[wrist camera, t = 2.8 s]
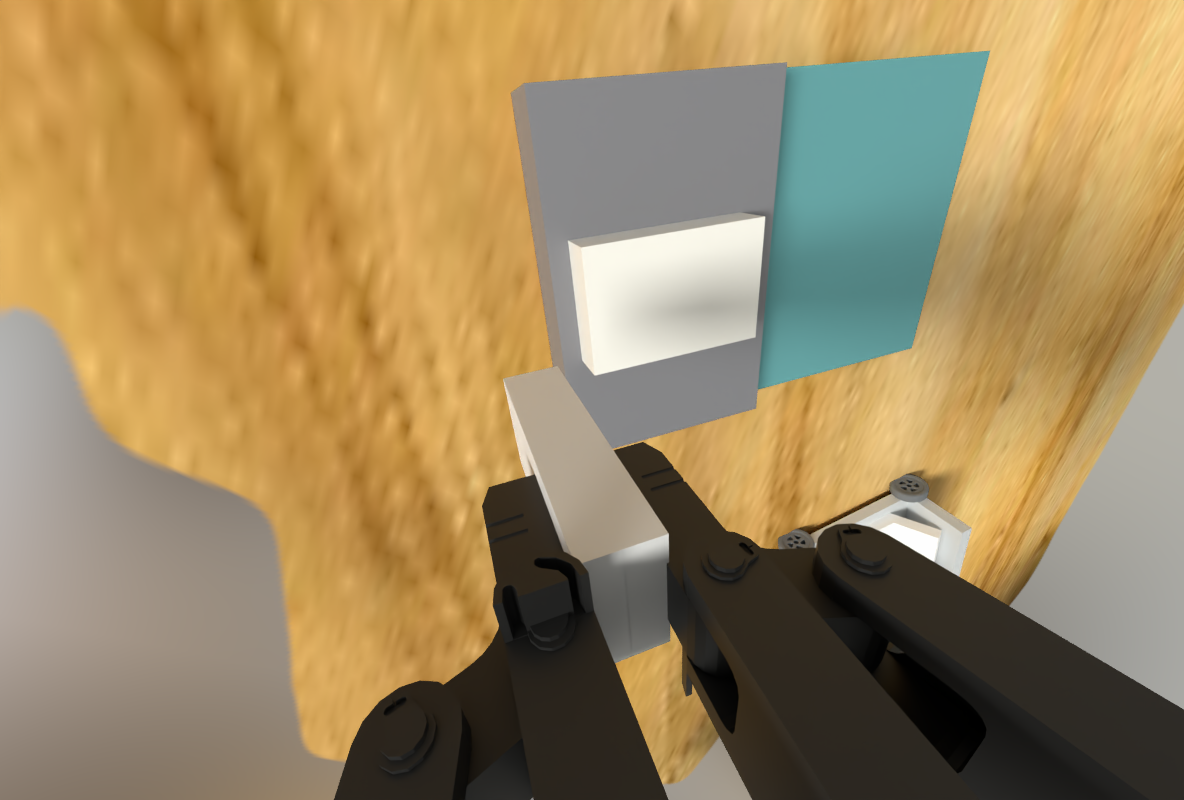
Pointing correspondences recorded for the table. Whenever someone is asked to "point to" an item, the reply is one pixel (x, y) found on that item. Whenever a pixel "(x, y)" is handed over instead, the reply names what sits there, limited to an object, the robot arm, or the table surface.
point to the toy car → (904, 524)
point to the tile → (666, 289)
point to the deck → (649, 216)
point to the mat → (861, 206)
